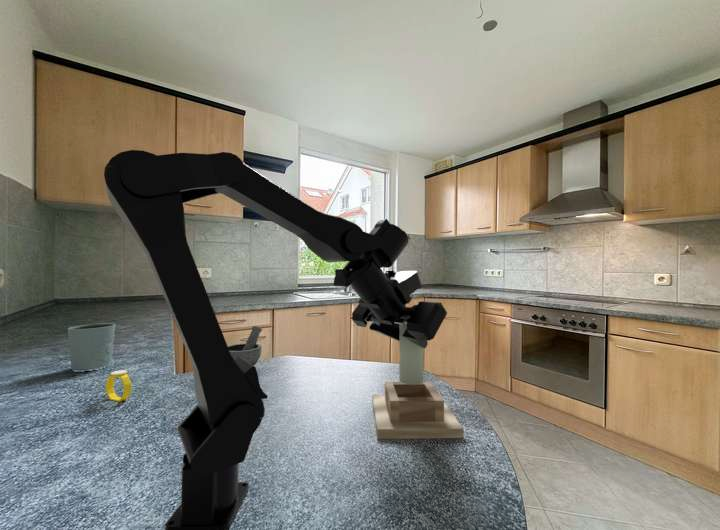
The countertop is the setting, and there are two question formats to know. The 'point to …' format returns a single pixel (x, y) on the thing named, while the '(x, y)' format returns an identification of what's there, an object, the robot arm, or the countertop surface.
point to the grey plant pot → (91, 345)
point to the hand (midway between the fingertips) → (415, 343)
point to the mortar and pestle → (248, 348)
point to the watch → (126, 382)
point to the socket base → (413, 413)
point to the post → (409, 359)
